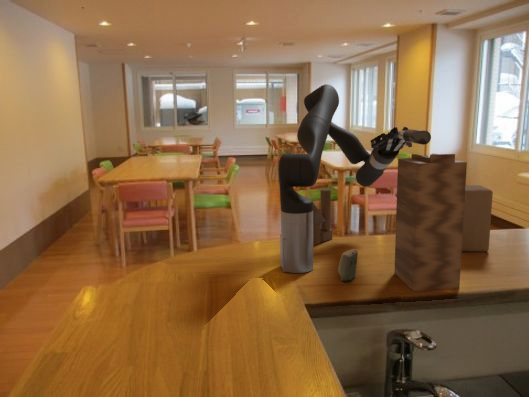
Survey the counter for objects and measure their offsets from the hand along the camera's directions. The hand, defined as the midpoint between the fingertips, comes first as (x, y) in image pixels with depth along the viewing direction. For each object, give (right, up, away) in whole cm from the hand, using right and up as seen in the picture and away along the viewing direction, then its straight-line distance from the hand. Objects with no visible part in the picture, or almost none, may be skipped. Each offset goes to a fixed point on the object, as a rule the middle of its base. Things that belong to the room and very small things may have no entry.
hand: (401, 129), depth 133 cm
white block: (-18, -42, -11) cm, 47 cm away
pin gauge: (+1, -4, -5) cm, 7 cm away
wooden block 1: (-21, -36, +26) cm, 49 cm away
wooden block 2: (+26, -37, +15) cm, 47 cm away
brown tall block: (+2, -42, -13) cm, 44 cm away
